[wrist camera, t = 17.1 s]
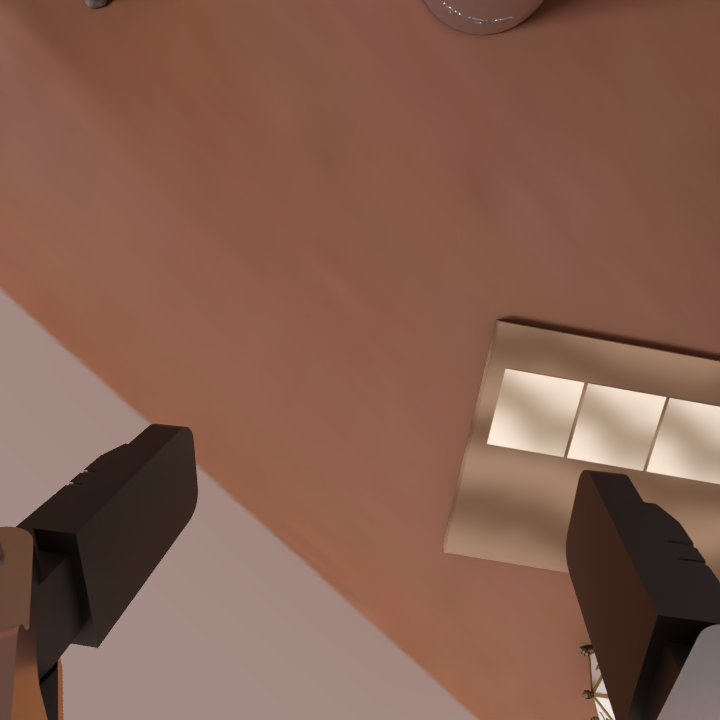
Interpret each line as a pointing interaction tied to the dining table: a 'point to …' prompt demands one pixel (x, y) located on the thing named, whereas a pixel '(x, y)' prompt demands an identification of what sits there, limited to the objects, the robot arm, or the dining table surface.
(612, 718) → the game die
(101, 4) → the rhino figurine
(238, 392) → the dining table surface
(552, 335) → the game board
